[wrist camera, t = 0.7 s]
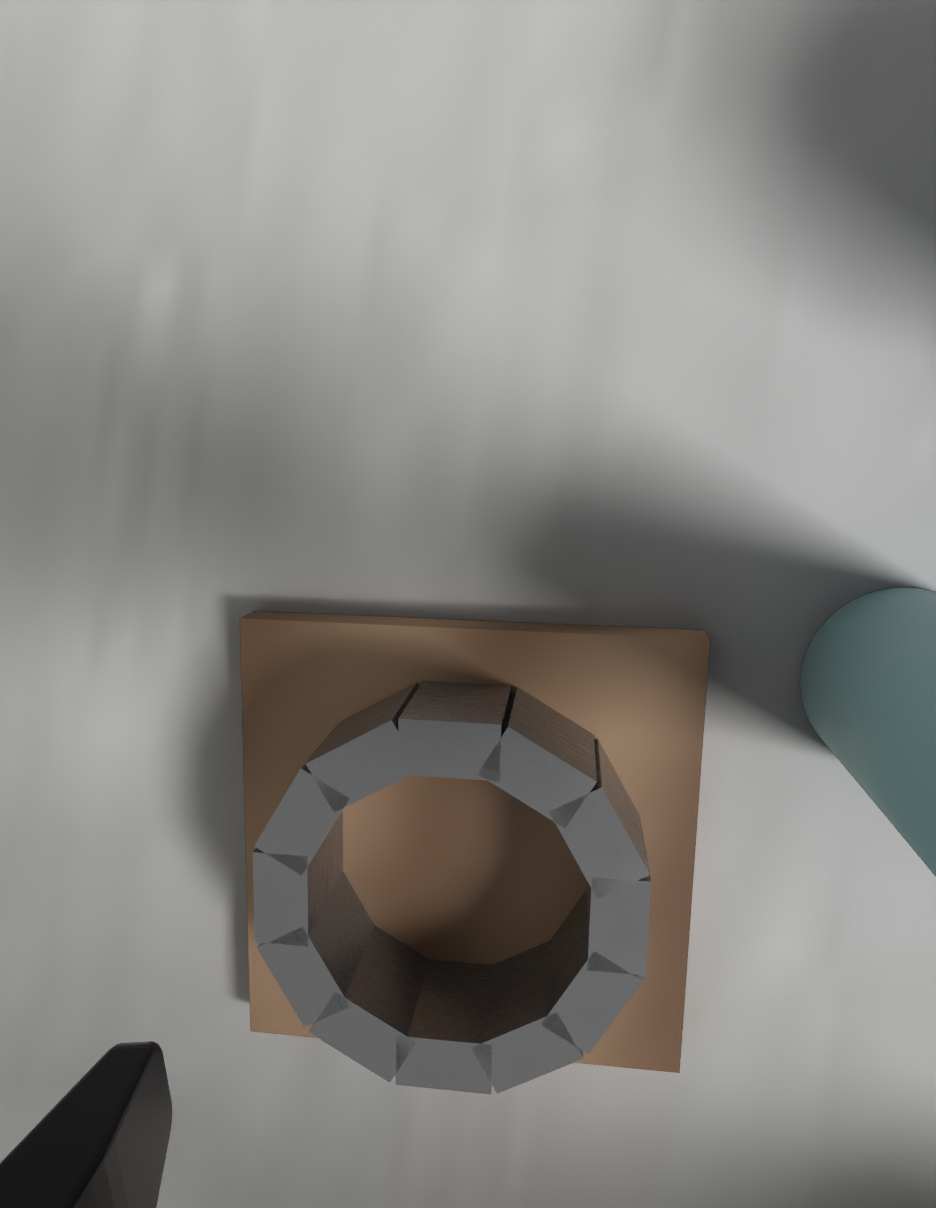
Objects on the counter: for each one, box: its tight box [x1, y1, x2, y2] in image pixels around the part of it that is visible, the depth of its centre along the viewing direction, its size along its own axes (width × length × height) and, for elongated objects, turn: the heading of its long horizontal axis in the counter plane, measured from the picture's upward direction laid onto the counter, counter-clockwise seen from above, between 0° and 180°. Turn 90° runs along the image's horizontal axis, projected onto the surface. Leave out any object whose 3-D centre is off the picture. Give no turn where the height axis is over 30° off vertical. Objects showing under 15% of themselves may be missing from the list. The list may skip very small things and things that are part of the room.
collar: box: [253, 681, 651, 1094], centre depth 20 cm, size 8×8×3 cm
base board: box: [240, 611, 710, 1073], centre depth 22 cm, size 11×11×1 cm
